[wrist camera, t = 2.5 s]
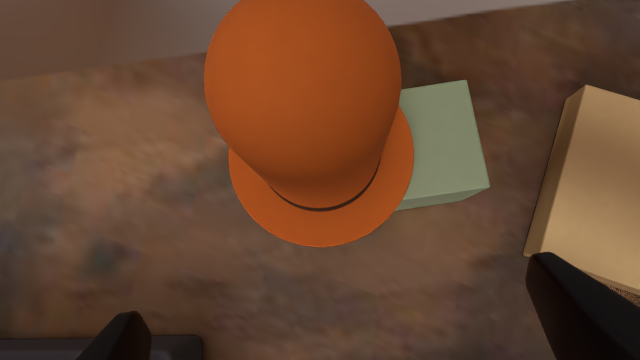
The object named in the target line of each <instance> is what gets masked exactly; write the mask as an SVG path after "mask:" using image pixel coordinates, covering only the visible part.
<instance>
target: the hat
mask: <svg viewBox="0 0 640 360" xmlns="http://www.w3.org/2000/svg"><path fill="white" fill-rule="evenodd" d="M204 90H205V96H206V102H207V105H208V108H209V111H210V115H211V118H212V120H213V122H214V124H215V126H216V128H217V130H218V132H219V133H220V135H221V136H222V138H223V139H224V141H225V142H226V143H227V144H228V146H229V170H230V176H231V180H232V183H233V187H234V190H235V192H236V194H237V196H238V198H239V200H240V202H241V203H242V205H243V207H244V208H245V210H246V211H247V212H248V213H249V214H250V216H251V217H252V218H253V219H254V220H255V221H256V222H257V223H258V224H259V225H261V226H262V227H263V228H264V229H266V230H267V231H269V232H270V233H272V234H273V235H275V236H277V237H279V238H281V239H283V240H286V241H289V242H292V243H295V244H299V245H304V246H309V247H330V246H337V245H342V244H346V243H349V242H352V241H355V240H358V239H360V238H362V237H363V236H365V235H367V234H369V233H371V232H372V231H373V230H375V229H376V228H378V227H379V226H380V225H381V224H382V223H383V222H385V221H386V220H387V219H388V218H389V217H390V216H391V214H392V213H393V212H394V211H395V210H396V208H397V207H398V205H399V204H400V202H401V201H402V199H403V197H404V195H405V193H406V191H407V189H408V186H409V183H410V180H411V176H412V171H413V165H414V146H413V138H412V135H411V131H410V127H409V125H408V122H407V120H406V117H405V115H404V114H403V112H402V110H401V108H400V107H399V99H400V93H401V68H400V61H399V56H398V52H397V49H396V46H395V43H394V41H393V38H392V36H391V34H390V32H389V30H388V29H387V27H386V25H385V24H384V22H383V21H382V19H381V18H380V17H379V15H378V14H377V13H376V12H375V11H374V10H373V9H372V8H371V7H370V6H369V5H368V4H367V3H366V2H365V1H364V0H240V1H239V2H238V3H237V4H236V5H235V6H234V7H233V8H232V9H231V10H230V11H229V12H228V13H227V14H226V16H225V17H224V18H223V20H222V21H221V23H220V24H219V26H218V28H217V29H216V31H215V33H214V35H213V38H212V40H211V43H210V46H209V48H208V52H207V56H206V60H205V68H204Z"/></svg>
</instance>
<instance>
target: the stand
mask: <svg viewBox="0 0 640 360" xmlns="http://www.w3.org/2000/svg"><path fill="white" fill-rule="evenodd" d="M541 252H552V253H554V254H556V255H557V256H559V257H561V258H562V259H564V260H565V261H567V262H569V263H570V264H572V265H573V266H575V267H576V268H578V269H580V270H581V271H583V272H584V273H586V274H588V275H589V276H591V277H592V278H594V279H596V280H597V281H599V282H600V283H603V284H606V285H609V286H612V287H615V288H618V289H621V290H624V291H626V292H629V293H632V294H635V295H638V296H640V100H637V99H633V98H630V97H627V96H623V95H620V94H616V93H613V92H610V91H606V90H603V89H599V88H596V87H593V86H589V85H585V86H584V87H582V88H581V89H579V90H578V91H577V92H575V93H574V94H572V95H571V96H570V97H568V98H567V99H566V101H565V105H564V109H563V112H562V116H561V119H560V123H559V126H558V130H557V134H556V137H555V141H554V144H553V148H552V151H551V155H550V159H549V162H548V166H547V169H546V173H545V176H544V180H543V184H542V187H541V191H540V194H539V198H538V202H537V205H536V209H535V212H534V216H533V219H532V223H531V227H530V230H529V234H528V237H527V241H526V244H525V248H524V252H523V255H524V256H526V257H528V258H530V256H531V255H532V254H534V253H541Z"/></svg>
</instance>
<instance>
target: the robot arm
mask: <svg viewBox="0 0 640 360" xmlns="http://www.w3.org/2000/svg"><path fill="white" fill-rule="evenodd" d="M525 282H526V287H527V290H528V292H529V295H530V297H531V300H532V302H533V305H534V307H535V310H536V312H537V314H538V317H539V319H540V322H541V324H542V327H543V329H544V332H545V334H546V336H547V339H548V341H549V344H550V346H551V348H552V351H553V353H554V355H555V357H556V359H557V360H640V307H639V306H637V305H635V304H634V303H632V302H631V301H629V300H627V299H626V298H624V297H623V296H621V295H619V294H618V293H616V292H615V291H613V290H611V289H610V288H608V287H607V286H605V285H604V284H602V283H600V282H599V281H597V280H596V279H594V278H592V277H591V276H589V275H588V274H586V273H584V272H583V271H581V270H580V269H578V268H576V267H575V266H573V265H572V264H570V263H569V262H567V261H565V260H564V259H562V258H561V257H559V256H557V255H556V254H554V253H552V252H541V253H534V254H532V255H531V256H530V258H529V263H528V268H527V273H526V278H525ZM151 345H152V335H151V332H150V330H149V328H148V327H147V325H146V323H145V322H144V320H143V318H142V317H141V315H140V314H139V313H138V312H137V311H130V312H123V313H119V314H118V315H116V316H115V317H114V318H113V319H112V320H111V321H110V322H109V324H108V325H107V326H106V327H105V328H104V329H103V330H102V331H101V332H100V333H99V334H98V335H97V336H96V337H95V339H94V340H93V341H92V342H91V343H90V344H89V345H88V346H87V347H86V348H85V349H84V350H83V351H82V352H81V353H80V355H79V356H78V357H77V358H76V359H75V360H150V353H151Z"/></svg>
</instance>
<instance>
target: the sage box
mask: <svg viewBox="0 0 640 360" xmlns="http://www.w3.org/2000/svg"><path fill="white" fill-rule="evenodd" d="M399 107H400V108H401V110H402V112H403V114H404V115H405V117H406V120H407V122H408V125H409V127H410V131H411V135H412V138H413V146H414V165H413V171H412V176H411V180H410V183H409V186H408V189H407V191H406V193H405V195H404V197H403V199H402V201H401V202H400V204H399V205H398V207H397V208H396V210H395V211H397V210H404V209H410V208H417V207H424V206H431V205H437V204H444V203H451V202H458V201H462V200H464V199H466V198H468V197H470V196H473V195H475V194H477V193H479V192H481V191H483V190H485V189H487V188H489V187H490V183H489V178H488V174H487V169H486V165H485V160H484V156H483V151H482V147H481V142H480V138H479V133H478V129H477V124H476V120H475V115H474V111H473V106H472V102H471V97H470V93H469V88H468V84H467V80H460V81H454V82H447V83H441V84H434V85H428V86H422V87H415V88H409V89H403V90H401V93H400V99H399Z"/></svg>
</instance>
